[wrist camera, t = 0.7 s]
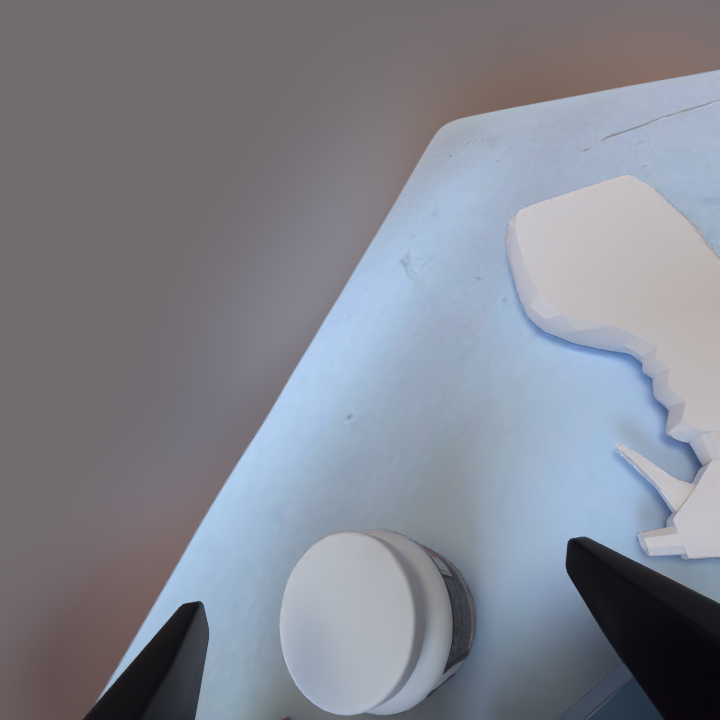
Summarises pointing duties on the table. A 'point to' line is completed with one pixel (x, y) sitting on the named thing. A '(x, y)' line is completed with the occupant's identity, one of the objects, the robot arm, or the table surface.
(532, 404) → the table surface
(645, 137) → the table surface
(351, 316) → the table surface
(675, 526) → the spray bottle
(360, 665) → the pill bottle
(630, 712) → the panel
